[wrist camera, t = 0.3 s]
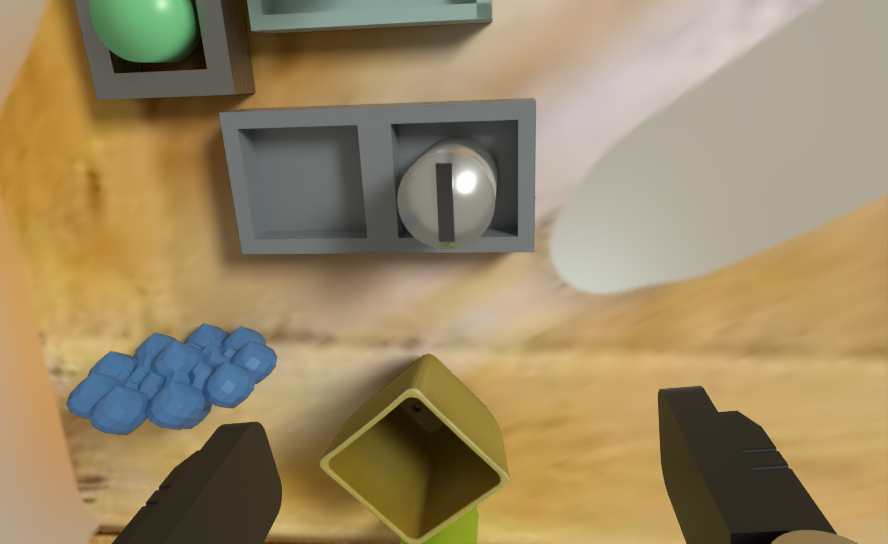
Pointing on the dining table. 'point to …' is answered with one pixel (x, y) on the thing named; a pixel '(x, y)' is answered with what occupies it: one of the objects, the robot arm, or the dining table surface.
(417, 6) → the tray
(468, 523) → the soap dispenser
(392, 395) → the flower pot
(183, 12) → the button
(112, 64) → the grey button housing
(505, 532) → the dining table surface
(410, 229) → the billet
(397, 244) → the tray
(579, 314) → the dining table surface
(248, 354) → the grapes
